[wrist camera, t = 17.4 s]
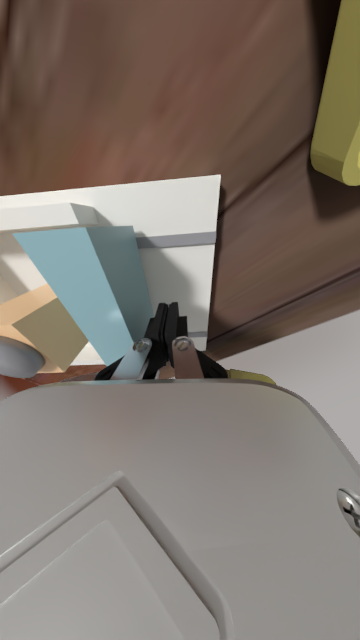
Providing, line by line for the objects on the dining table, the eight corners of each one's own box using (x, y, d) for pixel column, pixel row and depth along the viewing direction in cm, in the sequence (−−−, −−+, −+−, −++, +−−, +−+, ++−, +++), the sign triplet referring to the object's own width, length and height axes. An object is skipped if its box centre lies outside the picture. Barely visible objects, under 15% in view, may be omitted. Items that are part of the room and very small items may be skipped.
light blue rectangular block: (132, 225, 10) (85, 227, 5) (160, 344, 18) (152, 389, 13) (94, 228, 10) (12, 233, 5) (139, 345, 18) (124, 390, 13)
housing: (217, 178, 9) (233, 159, 6) (204, 345, 20) (208, 365, 17) (-58, 205, 10) (-148, 198, 7) (71, 350, 21) (54, 369, 18)
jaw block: (84, 281, 13) (-6, 334, 7) (105, 320, 16) (56, 381, 10) (47, 283, 13) (-74, 337, 7) (74, 321, 16) (7, 383, 10)
